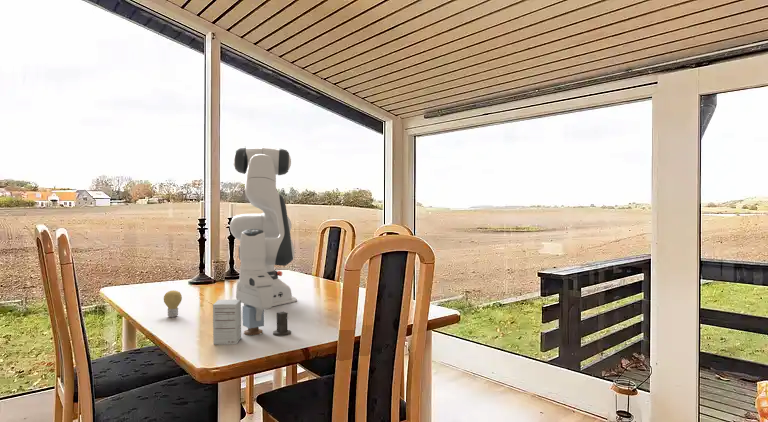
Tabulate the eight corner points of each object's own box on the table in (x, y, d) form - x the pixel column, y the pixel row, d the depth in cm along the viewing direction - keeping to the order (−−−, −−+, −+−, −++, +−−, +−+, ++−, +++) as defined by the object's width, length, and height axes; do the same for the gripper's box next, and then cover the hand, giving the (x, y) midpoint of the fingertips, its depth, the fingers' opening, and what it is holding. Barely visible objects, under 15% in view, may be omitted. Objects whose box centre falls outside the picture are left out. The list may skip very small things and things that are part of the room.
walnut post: (257, 329, 170) (257, 309, 170) (265, 333, 165) (265, 312, 165) (241, 332, 166) (240, 311, 166) (248, 336, 161) (248, 315, 161)
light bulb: (175, 318, 185) (175, 292, 185) (160, 317, 187) (159, 291, 186) (185, 314, 192) (185, 289, 191) (170, 314, 193) (170, 288, 193)
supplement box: (218, 338, 159) (218, 299, 159) (241, 337, 160) (241, 299, 160) (212, 344, 152) (212, 304, 152) (236, 344, 153) (236, 303, 152)
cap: (256, 323, 169) (256, 304, 169) (264, 326, 165) (263, 306, 165) (242, 325, 166) (242, 306, 166) (249, 328, 162) (249, 308, 162)
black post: (285, 330, 169) (285, 309, 169) (294, 333, 165) (294, 313, 164) (269, 333, 165) (269, 312, 165) (278, 337, 161) (278, 315, 160)
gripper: (231, 275, 171) (231, 314, 171) (258, 282, 156) (258, 325, 156) (248, 273, 175) (248, 312, 175) (276, 280, 160) (276, 322, 160)
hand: (253, 318), depth 165 cm, fingers closed on cap, 5 cm apart
